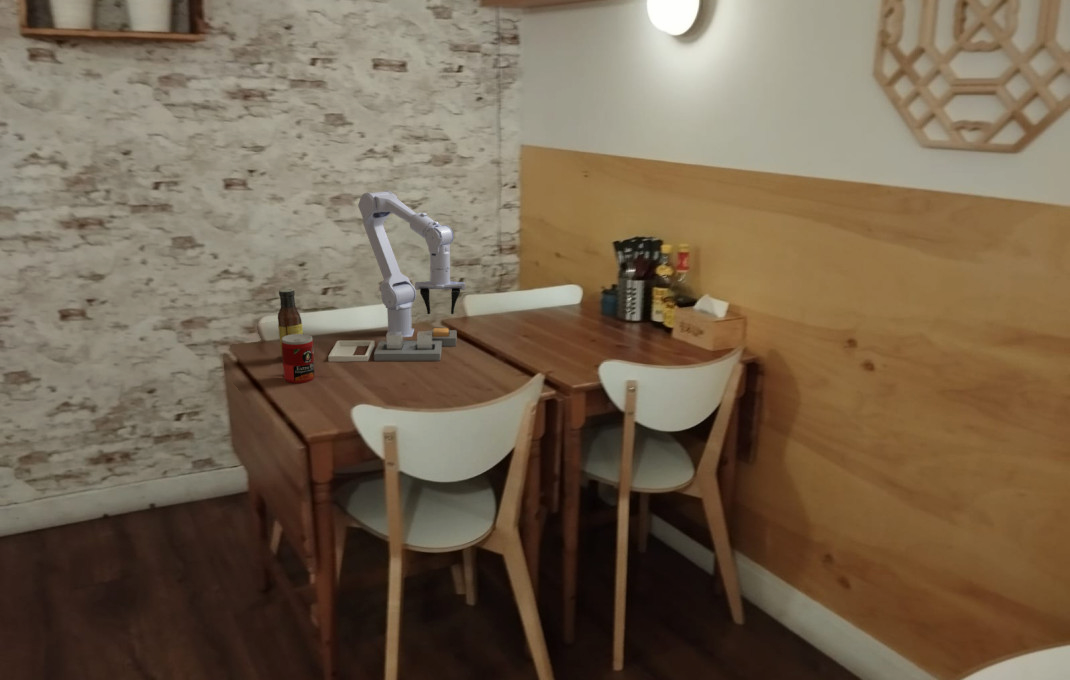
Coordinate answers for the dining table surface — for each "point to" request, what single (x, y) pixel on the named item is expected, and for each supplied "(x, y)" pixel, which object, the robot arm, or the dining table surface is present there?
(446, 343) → the button housing
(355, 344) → the tray
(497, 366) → the dining table surface
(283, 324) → the sauce bottle
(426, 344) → the block
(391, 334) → the steel block
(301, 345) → the canned food
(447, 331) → the button
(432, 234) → the robot arm
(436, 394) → the dining table surface
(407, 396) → the dining table surface
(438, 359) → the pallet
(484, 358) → the dining table surface
